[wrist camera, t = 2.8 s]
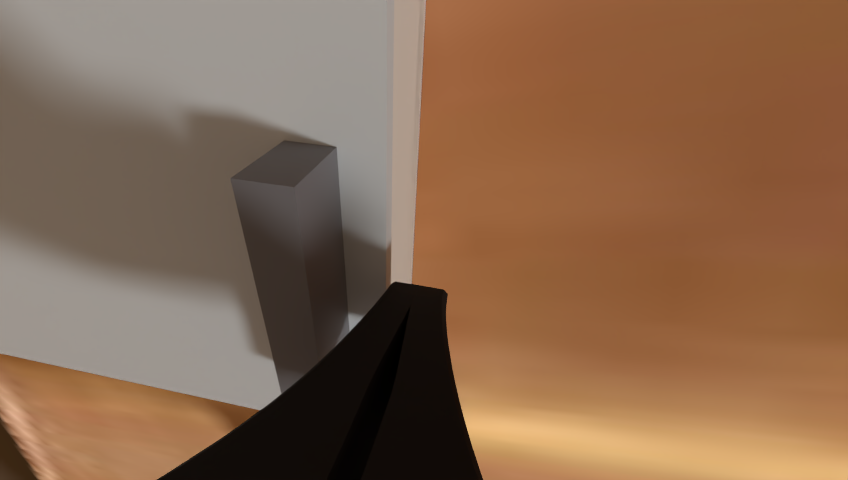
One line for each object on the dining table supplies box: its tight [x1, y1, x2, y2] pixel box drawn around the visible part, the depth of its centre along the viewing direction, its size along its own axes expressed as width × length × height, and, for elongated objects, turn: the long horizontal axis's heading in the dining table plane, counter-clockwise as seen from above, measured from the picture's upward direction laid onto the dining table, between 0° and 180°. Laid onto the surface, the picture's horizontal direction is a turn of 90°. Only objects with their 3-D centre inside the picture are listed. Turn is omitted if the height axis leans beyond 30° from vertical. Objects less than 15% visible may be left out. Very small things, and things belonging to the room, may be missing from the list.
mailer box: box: [391, 0, 426, 284], centre depth 14 cm, size 14×18×4 cm
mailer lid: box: [0, 0, 394, 410], centre depth 11 cm, size 14×18×2 cm
